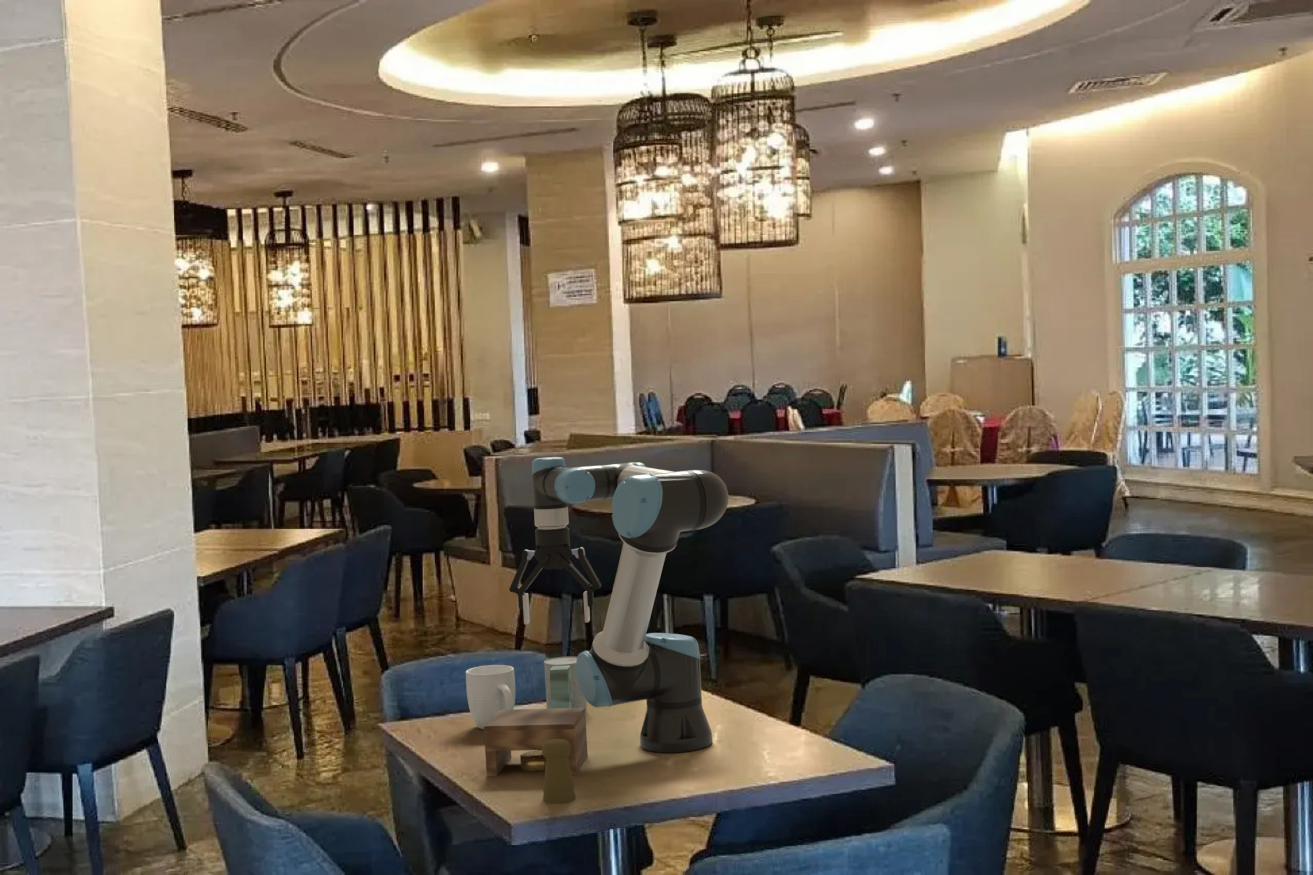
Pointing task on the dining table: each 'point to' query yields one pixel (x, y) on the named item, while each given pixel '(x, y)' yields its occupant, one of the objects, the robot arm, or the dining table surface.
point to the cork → (557, 772)
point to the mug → (489, 691)
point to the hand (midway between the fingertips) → (557, 622)
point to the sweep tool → (561, 687)
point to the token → (533, 760)
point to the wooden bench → (534, 734)
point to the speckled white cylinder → (577, 694)
